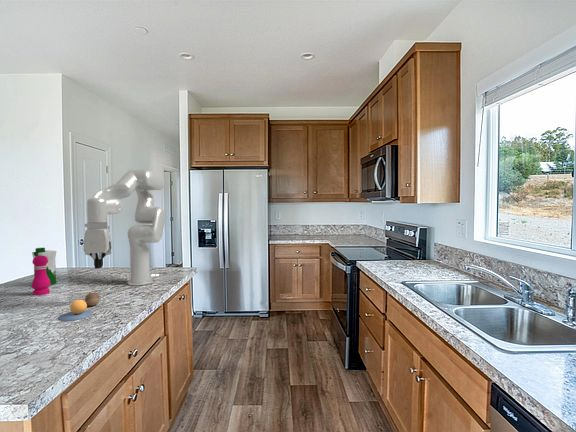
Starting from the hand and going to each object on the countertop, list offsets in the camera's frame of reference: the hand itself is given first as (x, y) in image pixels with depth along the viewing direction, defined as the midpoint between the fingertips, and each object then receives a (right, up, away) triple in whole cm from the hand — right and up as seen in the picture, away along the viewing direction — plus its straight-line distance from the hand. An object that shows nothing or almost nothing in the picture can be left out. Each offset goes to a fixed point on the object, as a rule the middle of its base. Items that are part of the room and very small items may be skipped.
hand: (98, 267), depth 142 cm
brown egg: (0, -13, -5) cm, 14 cm away
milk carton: (-47, -14, +31) cm, 58 cm away
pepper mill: (-36, -15, +14) cm, 41 cm away
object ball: (+1, -13, -15) cm, 20 cm away
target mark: (+1, -16, -17) cm, 23 cm away
